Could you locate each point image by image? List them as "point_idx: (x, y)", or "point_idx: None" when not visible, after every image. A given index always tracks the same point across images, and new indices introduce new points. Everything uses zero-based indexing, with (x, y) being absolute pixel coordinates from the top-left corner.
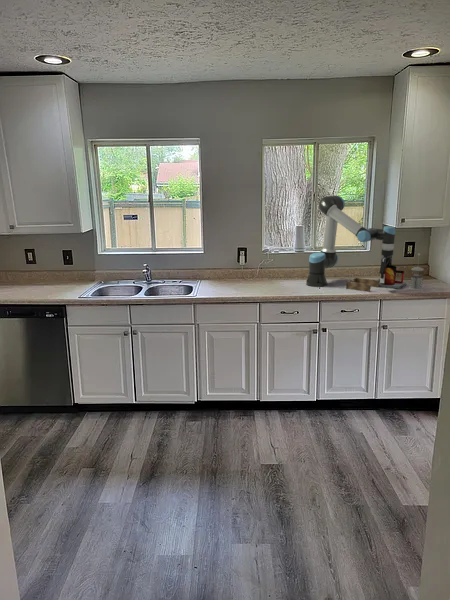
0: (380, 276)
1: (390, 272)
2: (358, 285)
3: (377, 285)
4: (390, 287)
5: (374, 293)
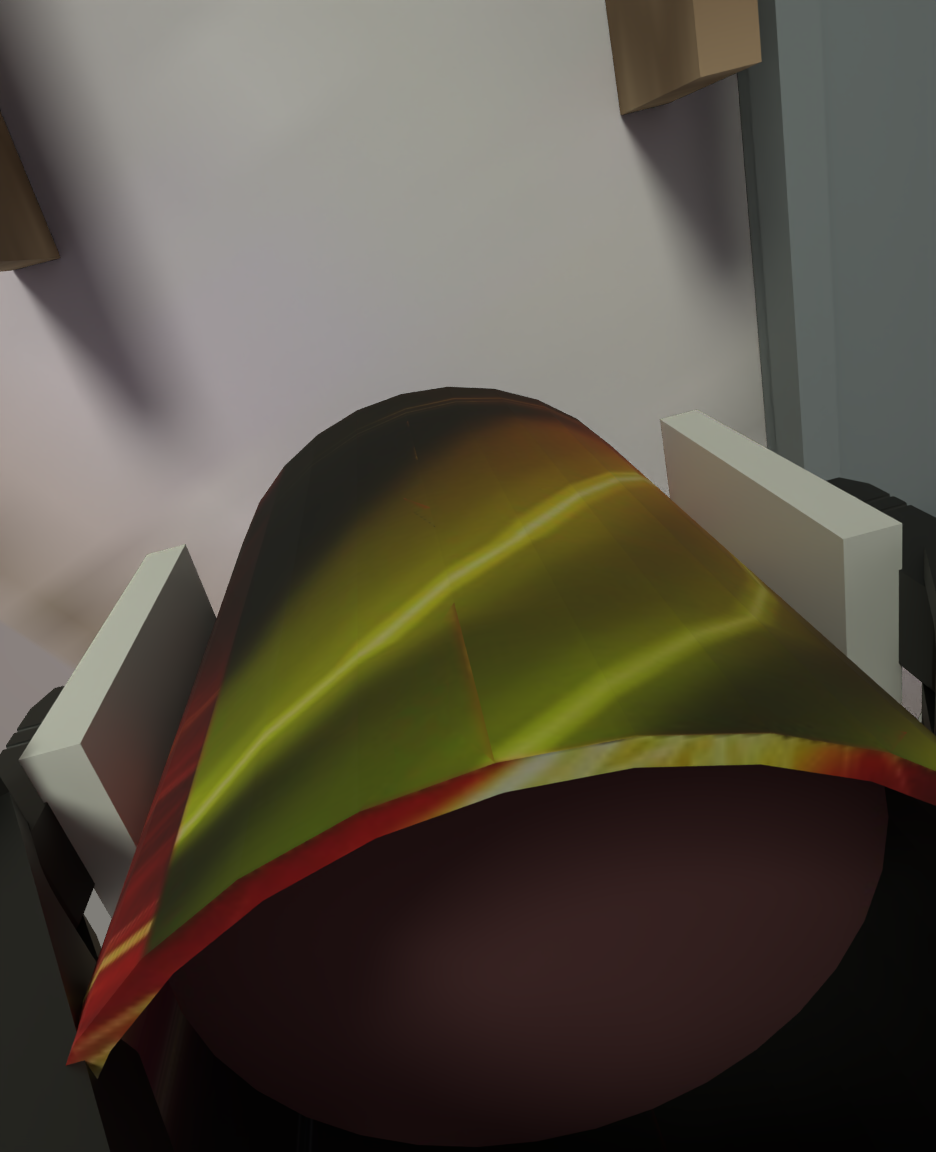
0: (78, 670)
1: (293, 1126)
2: None
3: (637, 93)
4: (772, 406)
5: (2, 461)
